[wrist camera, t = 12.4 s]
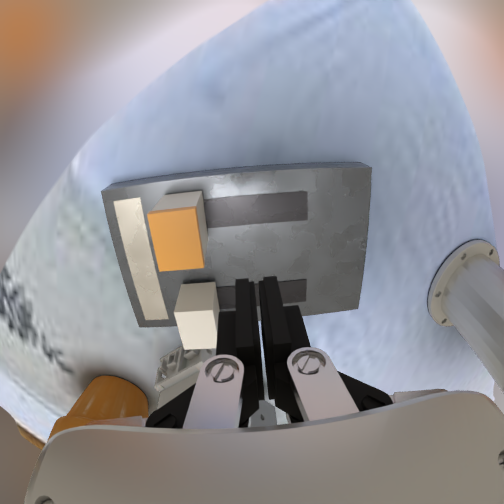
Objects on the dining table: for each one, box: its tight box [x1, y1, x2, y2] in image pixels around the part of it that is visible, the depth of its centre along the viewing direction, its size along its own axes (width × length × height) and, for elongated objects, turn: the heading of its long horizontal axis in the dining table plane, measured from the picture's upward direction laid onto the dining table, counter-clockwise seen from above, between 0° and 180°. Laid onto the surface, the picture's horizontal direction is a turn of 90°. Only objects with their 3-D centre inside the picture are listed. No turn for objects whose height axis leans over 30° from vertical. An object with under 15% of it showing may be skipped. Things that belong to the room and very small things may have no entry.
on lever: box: [174, 282, 220, 350], centre depth 25 cm, size 3×4×4 cm
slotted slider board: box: [101, 162, 372, 327], centre depth 26 cm, size 22×14×3 cm, turn 94°
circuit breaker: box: [154, 345, 277, 427], centre depth 29 cm, size 8×14×15 cm, turn 38°
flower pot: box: [47, 376, 148, 442], centre depth 31 cm, size 14×14×13 cm
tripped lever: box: [147, 191, 208, 272], centre depth 21 cm, size 3×4×5 cm
